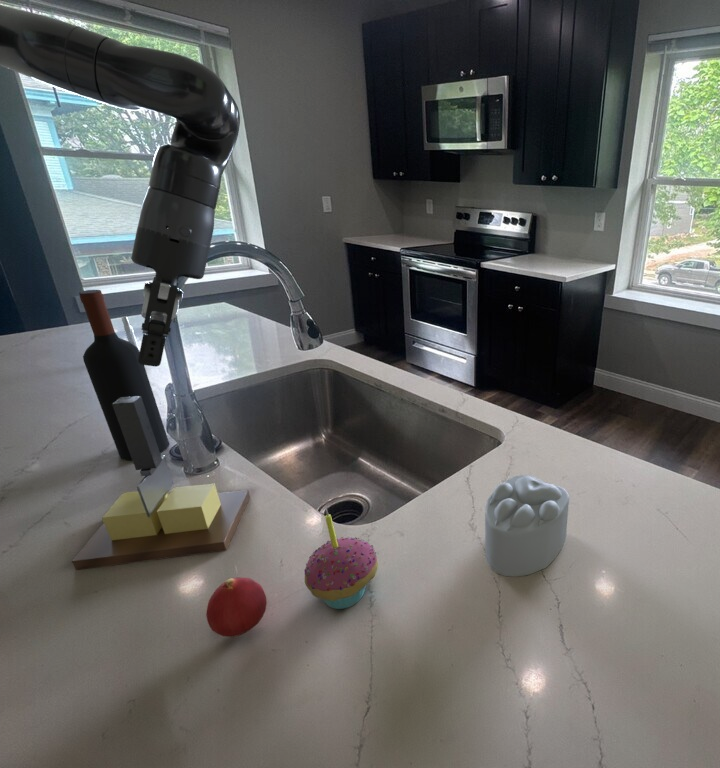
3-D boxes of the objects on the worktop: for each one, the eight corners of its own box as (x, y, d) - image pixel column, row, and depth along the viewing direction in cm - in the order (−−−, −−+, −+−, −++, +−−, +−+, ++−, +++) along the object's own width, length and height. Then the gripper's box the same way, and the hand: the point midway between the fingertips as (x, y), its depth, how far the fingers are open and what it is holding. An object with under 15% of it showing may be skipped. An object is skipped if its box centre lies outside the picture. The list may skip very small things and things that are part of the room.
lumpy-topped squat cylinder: (574, 531, 70) (578, 483, 67) (532, 590, 60) (535, 538, 56) (515, 506, 75) (516, 461, 72) (467, 557, 65) (465, 507, 61)
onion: (220, 616, 55) (203, 565, 52) (273, 602, 57) (261, 553, 54) (210, 660, 50) (191, 607, 47) (269, 643, 52) (255, 591, 49)
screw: (129, 367, 124) (127, 362, 127) (151, 363, 127) (148, 358, 130) (113, 319, 118) (111, 315, 121) (136, 316, 121) (134, 312, 124)
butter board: (75, 570, 61) (71, 561, 61) (123, 511, 72) (119, 503, 71) (226, 550, 65) (223, 542, 64) (250, 497, 76) (248, 489, 75)
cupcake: (298, 592, 59) (281, 516, 54) (360, 557, 64) (350, 486, 60) (329, 636, 53) (313, 556, 48) (394, 594, 59) (385, 519, 54)
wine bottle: (120, 465, 83) (57, 299, 71) (118, 447, 88) (59, 290, 76) (171, 451, 87) (120, 293, 75) (166, 435, 93) (118, 284, 80)
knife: (138, 518, 63) (98, 414, 56) (163, 484, 69) (130, 388, 63) (158, 515, 63) (121, 412, 57) (181, 482, 70) (151, 387, 63)
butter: (111, 540, 64) (101, 517, 63) (131, 514, 69) (123, 492, 67) (208, 528, 67) (201, 506, 65) (221, 504, 72) (214, 483, 70)
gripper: (141, 226, 62) (117, 343, 64) (134, 221, 51) (106, 364, 52) (207, 245, 67) (183, 354, 68) (213, 245, 56) (186, 375, 57)
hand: (150, 358), depth 60 cm, fingers open, 8 cm apart
